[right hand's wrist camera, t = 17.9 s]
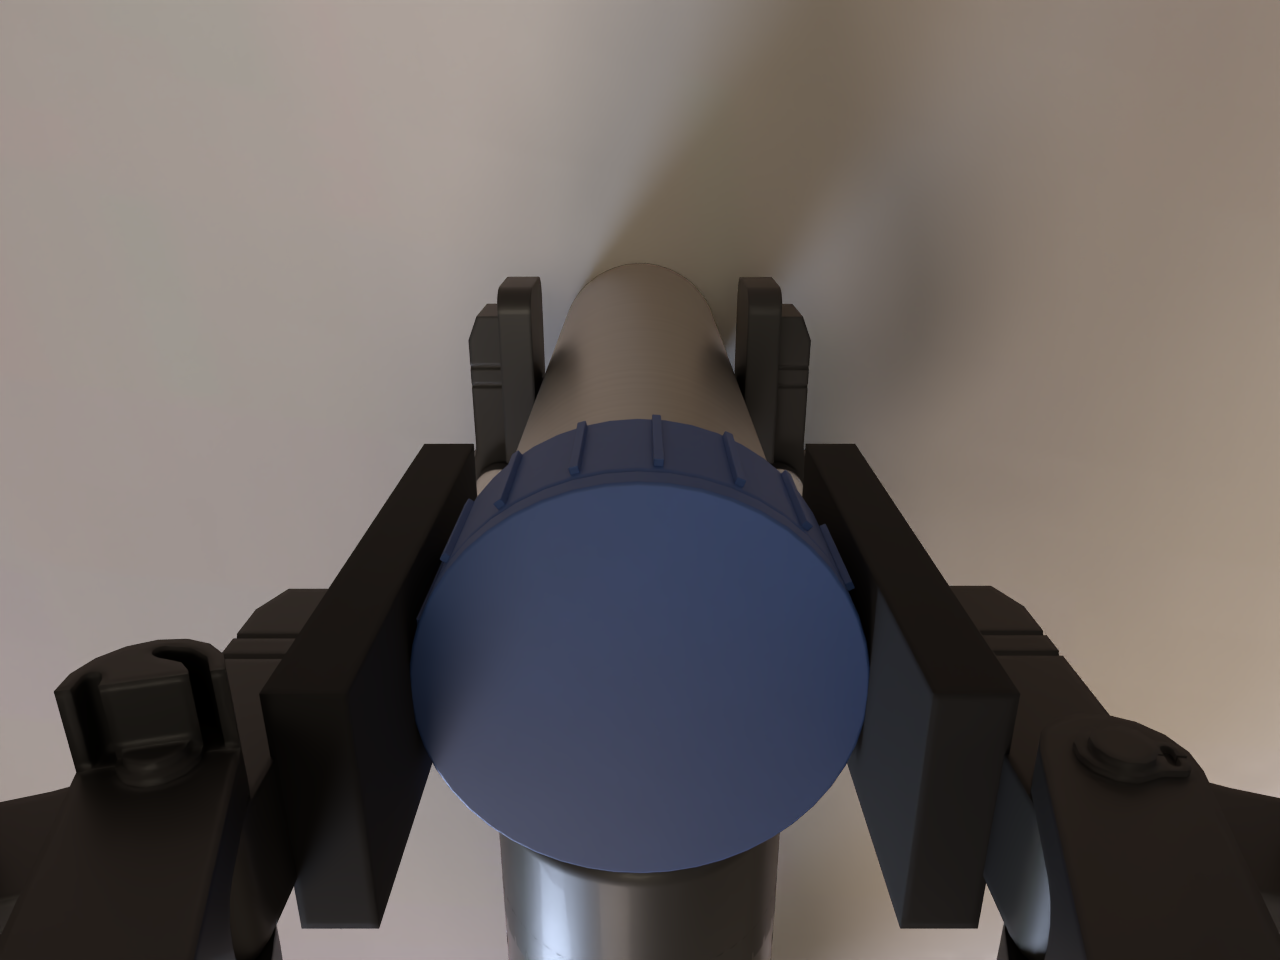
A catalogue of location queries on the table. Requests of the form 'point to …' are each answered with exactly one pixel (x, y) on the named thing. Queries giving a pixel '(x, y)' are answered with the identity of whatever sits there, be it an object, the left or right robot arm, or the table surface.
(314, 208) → the table surface
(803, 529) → the lid
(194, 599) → the table surface
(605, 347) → the silver metal canister
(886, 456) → the table surface
